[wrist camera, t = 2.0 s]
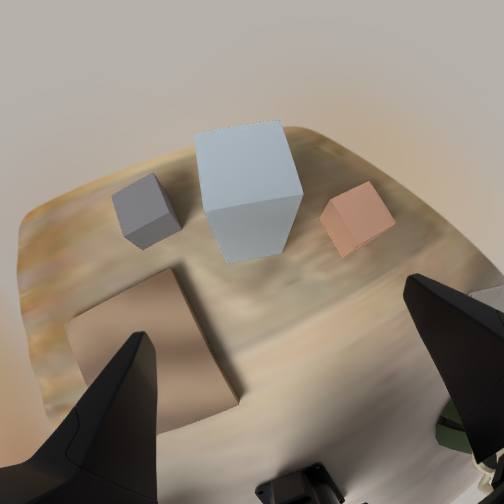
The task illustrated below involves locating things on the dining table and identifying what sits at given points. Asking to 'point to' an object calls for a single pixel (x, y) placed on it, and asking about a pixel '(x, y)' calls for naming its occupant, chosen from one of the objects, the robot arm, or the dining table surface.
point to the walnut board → (157, 348)
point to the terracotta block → (356, 218)
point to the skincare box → (491, 297)
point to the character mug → (465, 445)
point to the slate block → (248, 188)
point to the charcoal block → (145, 212)
